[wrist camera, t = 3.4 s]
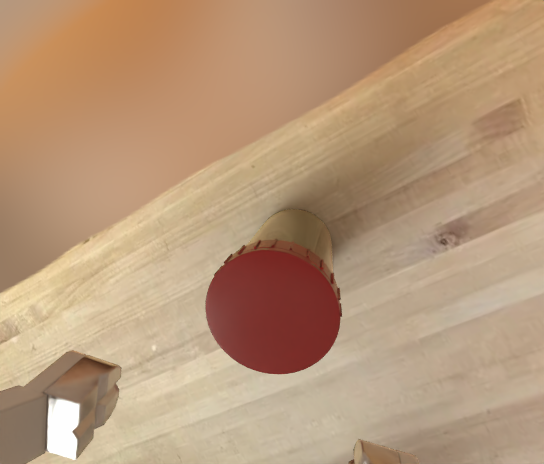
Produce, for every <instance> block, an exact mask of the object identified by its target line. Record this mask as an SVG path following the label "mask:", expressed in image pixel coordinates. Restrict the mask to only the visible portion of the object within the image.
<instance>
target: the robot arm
mask: <svg viewBox="0 0 544 464" xmlns="http://www.w3.org/2000/svg"><path fill="white" fill-rule="evenodd" d="M120 378H121V367H120V366H119V365H116V364H113V363H110V362H107V361H104V360H101V359H98V358H95V357H93V356H90V355H85V354H82V353H79V352H77V351H74V350H72V351H69V352H66V353H65V354H64V355H63V356H61V357H60V358H59V359H58V360H56V361H55V362H54V363H53V364H51V365H50V366H49V367H48V368H46V369H45V370H44V371H43V372H41V373H40V374H39V375H38V376H36V377H35V378H34V379H33V380H31V381H30V382H29V383H28V384H26V385H25V386H24V387H22V386H15V387H12V388H9V389H6V390H3V391H0V464H26V463H28V462H30V461H32V460H33V459H35V458H37V457H39V456H40V455H42V454H44V453H45V451H47V452H51V453H54V454H57V455H61V456H64V457H67V458H71V459H74V460H76V459H77V458H78V457H79V455H80V454H81V453H82V452H83V450H84V449H85V448H86V447H87V445H88V444H89V443H90V442H91V440H92V439H93V434H94V429H96V428H98V427H100V426H102V425H104V424H105V423H106V421H107V420H108V419H109V417H110V416H111V414H112V412H113V410H114V408H115V406H116V403H117V400H118V397H119V388H118V386H117V385H116V382H117V381H118V380H119V379H120ZM353 450H354V459H353V460H351V461H350V462H349V463H348V464H419V461H418V459H417V457H416V456H415V455H412V454H409V453H405V452H402V451H398V450H394V449H391V448H388V447H384V446H381V445H378V444H374V443H371V442H367V441H364V440H361V439H359V440H358V441H357V442H356V444H355V447H354V449H353Z"/></svg>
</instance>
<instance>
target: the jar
mask: <svg viewBox="0 0 544 464" xmlns="http://www.w3.org/2000/svg"><path fill="white" fill-rule="evenodd" d="M275 238H277V240H284V241H289V242H292V241H294V243H296V244H298V245H301V246H303V247H305V248H307V249H308V248H310V249H311V250H310V251H312V252H313V253H314V254H316V255H317V256H318V257H319V258H320V259H321V260H322V259H323V260H324V263H325V264H326V265H327V266H328V268H329V270H330V271H331V273H333V265H332V240H331V236H330V233H329V231H328V229H327V227H326V225H325V224H324V223H323V222H322V220H320V219H319V218H318V217H317V216H315V215H314V214H312V213H310V212H308V211H305V210H301V209H287V210H283V211H280V212H277V213H275V214H274V215H272V216H271V217H270V218H268V220H267V221H266V222H265V223H264V224H263V225H262V227H261V228H260V229H259V230H258V232H257V233H256V234H255V235H254V237H253V238H252V239H251V240H250V242H249V243H248V244H247V245H249V244H251V243H254V242H257V241H258V240H261V241H263V240H275ZM247 245H246V246H247Z"/></svg>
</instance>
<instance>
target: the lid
mask: <svg viewBox="0 0 544 464" xmlns="http://www.w3.org/2000/svg"><path fill="white" fill-rule="evenodd" d="M310 250H311V249H310V248H308V249H307V248H305V247H303V246H301V245H298V244H296V243H294V241H292V242H289V241H284V240H277V238H275V240H263V241H261V240H258V241H257V242H254V243H251V244H249V245H247V246H245V245H243V246H242V247H241V249H240V250H238V251H237V252H236V253H234V254H233V255H232V254H231V255H230V256H229V257H228V258H227V259H226V260H225V262H224V263H225V264H224V265H223V266H221V267H220V268H219V270H218V271H217V272H216V273H215V274H214V276H215V277H214V278H213V280H212V282H211V284H210V286H209V289H208V292H207V297H206V317H207V321H208V325H209V328H210V330H211V333H212V335H213V336H214V338H215V340H216V341H217V343H218V344H219V346H220V347H221V348H222V349H223V350H224V351H225V352H226V353H227V354H228V355H229V356H230V357H231V358H233V359H234V360H235V361H237V362H238V363H240V364H242V365H244V366H246V367H248V368H250V369H253V370H256V371H259V372H263V373H269V374H288V373H294V372H298V371H301V370H304V369H306V368H308V367H310V366H312V365H313V364H315V363H317V362H318V361H319V360H320V359H322V358H323V357H324V356H325V355H326V354H327V352H328V351H329V350H330V349H331V347H332V345H333V344H334V342H335V340H336V338H337V335H338V331H339V327H340V317H342V309H341V303H340V301H339V300H341V299H340V288H338V287H337V284H336V281H335V279H334V273H331V271H330V270H329V268H328V266H327V265H326V264H325V263H324V260H323V259H322V260H321V259H320V258H319V257H318V256H317V255H316V254H314V253H313V252H312V251H310Z"/></svg>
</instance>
